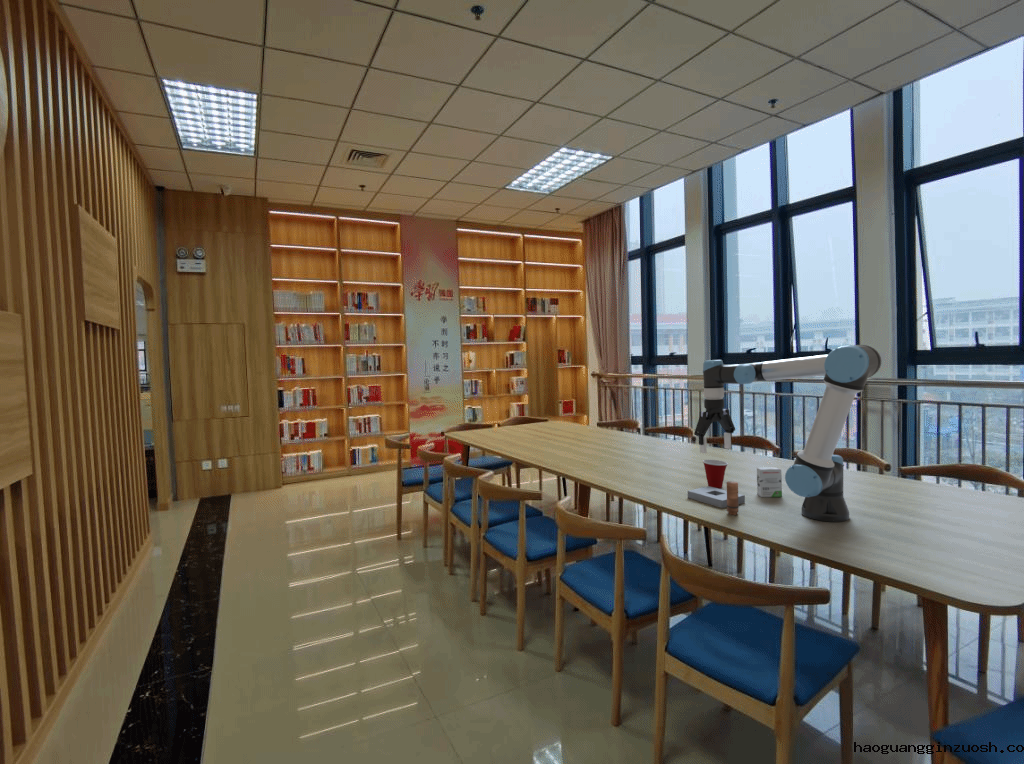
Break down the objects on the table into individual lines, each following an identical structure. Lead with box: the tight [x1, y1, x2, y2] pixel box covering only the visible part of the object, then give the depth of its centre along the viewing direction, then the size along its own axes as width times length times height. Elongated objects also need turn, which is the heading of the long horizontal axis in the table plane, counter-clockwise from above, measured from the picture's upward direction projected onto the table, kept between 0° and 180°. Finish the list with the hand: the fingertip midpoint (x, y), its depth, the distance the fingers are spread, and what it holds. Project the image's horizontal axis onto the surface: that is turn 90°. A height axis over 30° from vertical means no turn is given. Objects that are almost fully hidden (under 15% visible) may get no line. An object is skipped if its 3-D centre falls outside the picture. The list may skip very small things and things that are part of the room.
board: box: [687, 485, 746, 509], centre depth 217 cm, size 18×13×3 cm
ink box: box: [756, 466, 783, 498], centre depth 220 cm, size 9×5×12 cm, turn 83°
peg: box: [726, 481, 740, 516], centre depth 198 cm, size 4×4×12 cm
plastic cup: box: [702, 459, 729, 489], centre depth 237 cm, size 11×11×12 cm
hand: (715, 450), depth 211 cm, fingers open, 13 cm apart
